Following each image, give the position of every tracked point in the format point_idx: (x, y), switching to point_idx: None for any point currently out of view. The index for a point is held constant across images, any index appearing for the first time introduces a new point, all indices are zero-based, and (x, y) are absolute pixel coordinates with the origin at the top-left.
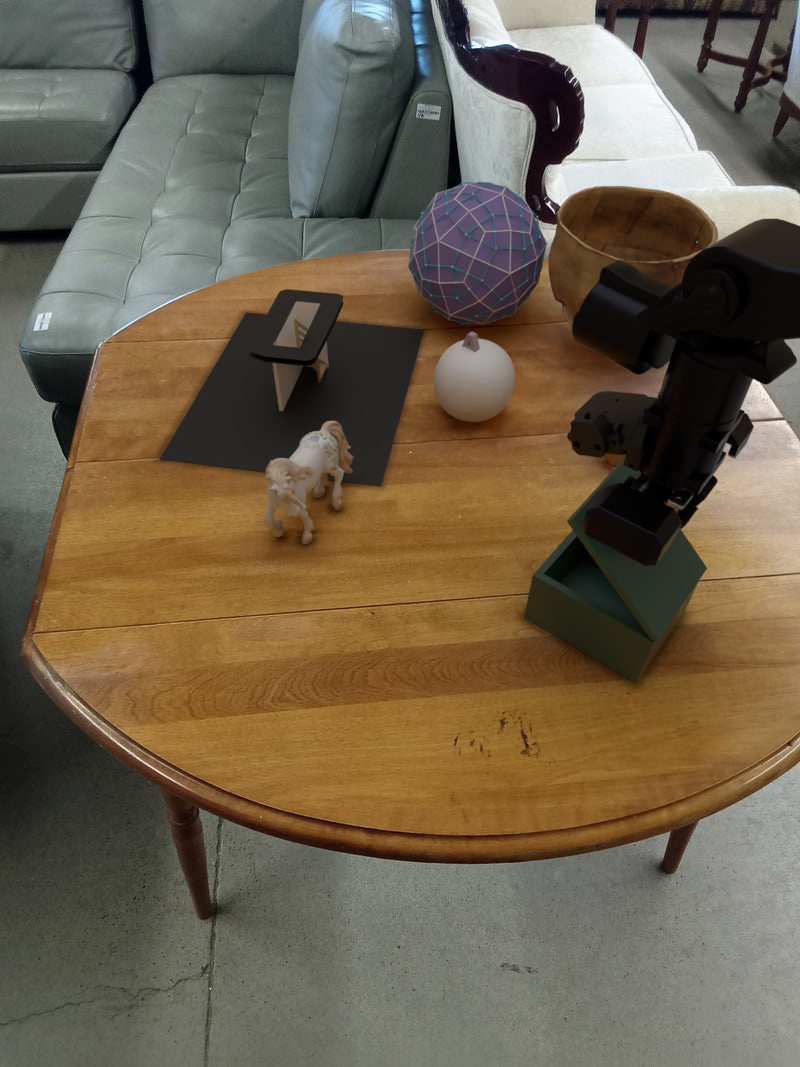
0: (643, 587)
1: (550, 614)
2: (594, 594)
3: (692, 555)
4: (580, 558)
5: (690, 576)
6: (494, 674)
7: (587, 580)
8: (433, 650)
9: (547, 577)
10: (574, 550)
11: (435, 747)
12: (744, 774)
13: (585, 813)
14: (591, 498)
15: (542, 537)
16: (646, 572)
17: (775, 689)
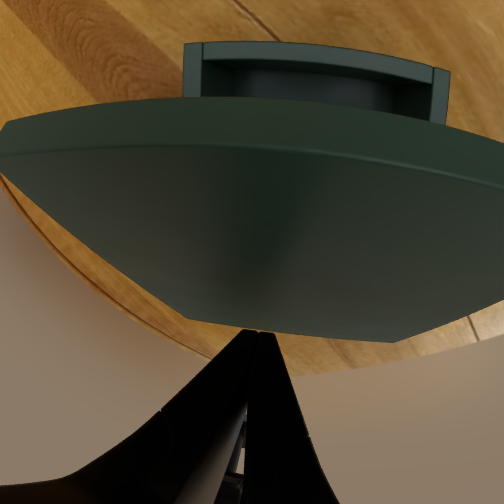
0: (213, 308)
1: None
2: None
3: (393, 337)
4: (395, 86)
5: (349, 337)
6: (116, 87)
7: None
8: (101, 9)
9: (196, 72)
10: (364, 75)
11: (25, 107)
12: (200, 355)
13: (71, 254)
14: (144, 146)
15: (410, 11)
16: (247, 310)
17: (312, 364)
